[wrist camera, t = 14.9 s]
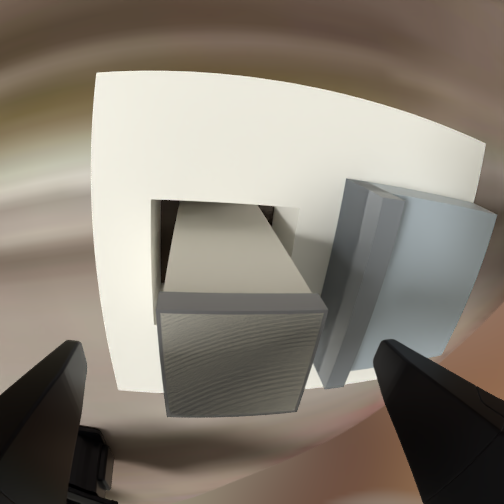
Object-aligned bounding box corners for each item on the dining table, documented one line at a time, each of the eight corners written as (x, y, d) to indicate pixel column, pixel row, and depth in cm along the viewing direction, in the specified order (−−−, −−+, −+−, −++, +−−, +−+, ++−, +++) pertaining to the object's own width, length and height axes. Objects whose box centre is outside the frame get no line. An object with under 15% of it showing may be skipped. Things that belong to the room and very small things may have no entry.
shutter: (306, 348, 16) (324, 389, 13) (346, 178, 13) (383, 197, 10) (425, 336, 18) (449, 365, 15) (472, 202, 14) (510, 221, 12)
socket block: (127, 345, 19) (118, 390, 16) (120, 82, 13) (96, 72, 9) (383, 339, 23) (407, 373, 19) (442, 133, 17) (485, 143, 13)
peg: (176, 269, 18) (166, 416, 9) (178, 197, 16) (155, 309, 7) (250, 271, 18) (296, 411, 9) (258, 201, 17) (328, 309, 8)
